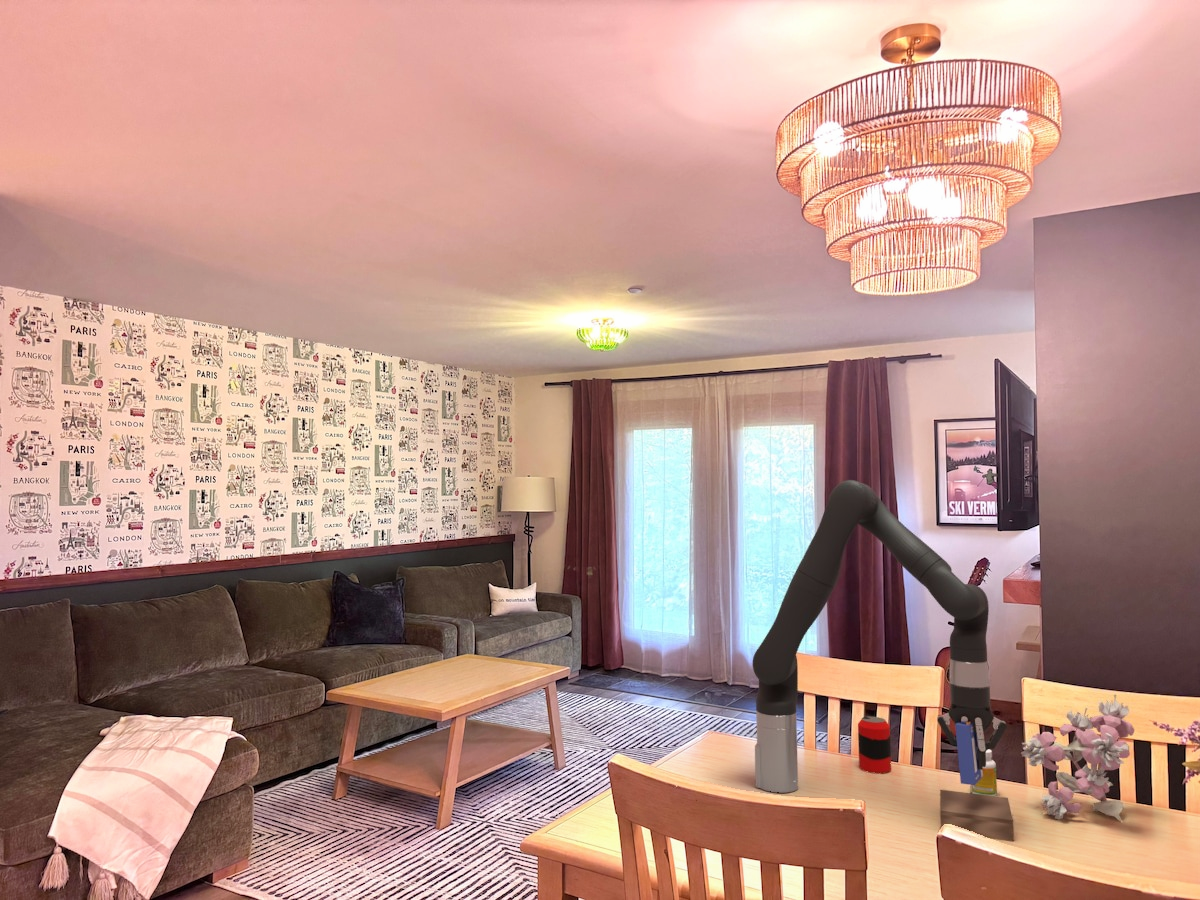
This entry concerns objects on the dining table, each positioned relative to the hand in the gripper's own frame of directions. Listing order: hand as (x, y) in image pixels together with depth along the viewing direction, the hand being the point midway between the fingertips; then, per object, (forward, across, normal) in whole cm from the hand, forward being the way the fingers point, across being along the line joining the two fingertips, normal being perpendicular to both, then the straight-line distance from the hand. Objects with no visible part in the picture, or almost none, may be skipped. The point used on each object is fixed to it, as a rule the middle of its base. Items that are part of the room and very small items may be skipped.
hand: (973, 767), depth 163 cm
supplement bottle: (+12, -3, -20) cm, 23 cm away
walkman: (+3, 0, 0) cm, 3 cm away
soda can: (+12, +21, -29) cm, 38 cm away
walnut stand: (+11, 0, 0) cm, 11 cm away
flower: (+12, -20, -13) cm, 27 cm away
